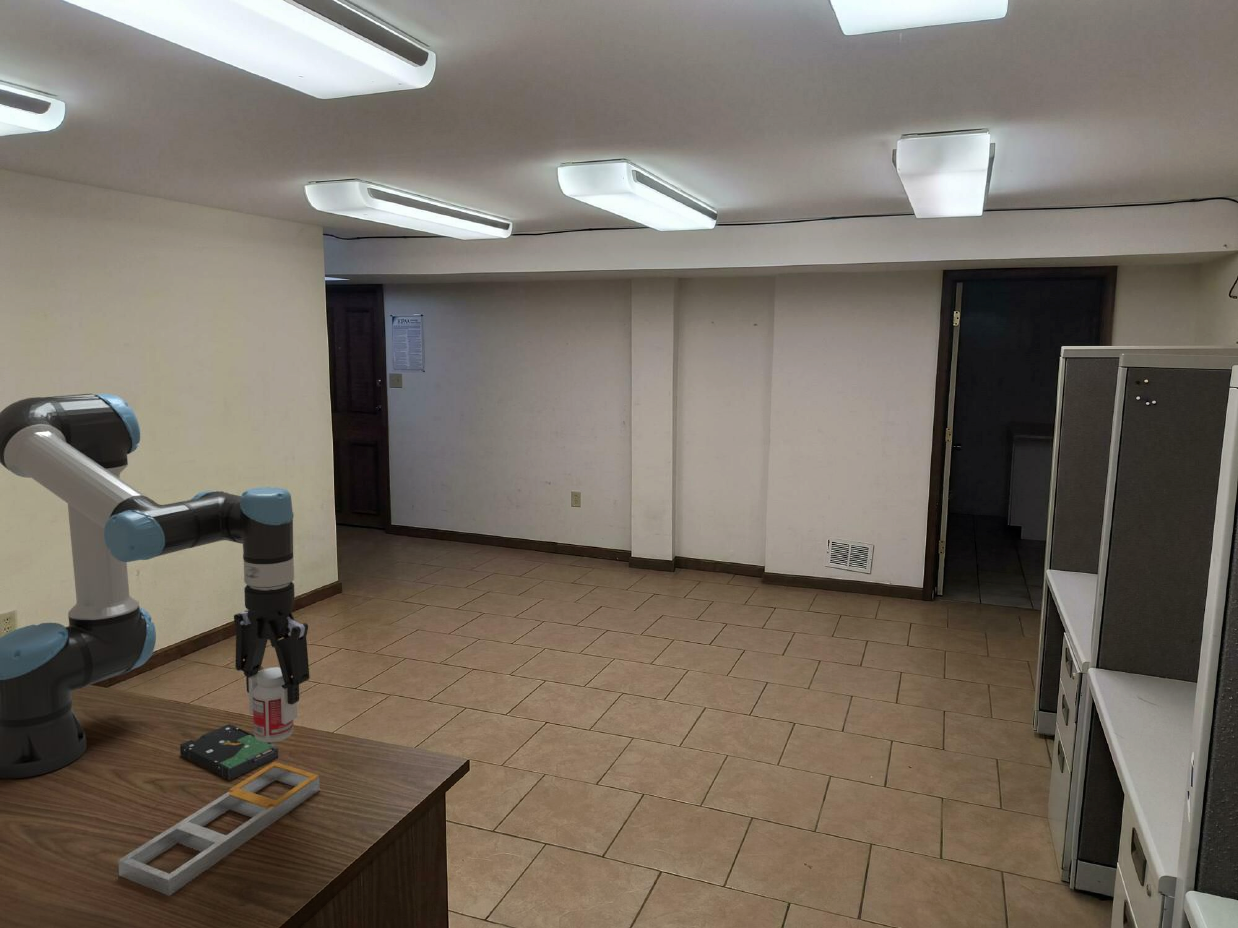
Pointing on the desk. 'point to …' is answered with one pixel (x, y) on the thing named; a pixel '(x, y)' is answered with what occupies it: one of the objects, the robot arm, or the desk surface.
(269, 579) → the robot arm
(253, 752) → the disk drive
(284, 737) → the pill bottle
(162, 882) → the socket rail
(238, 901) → the desk surface
